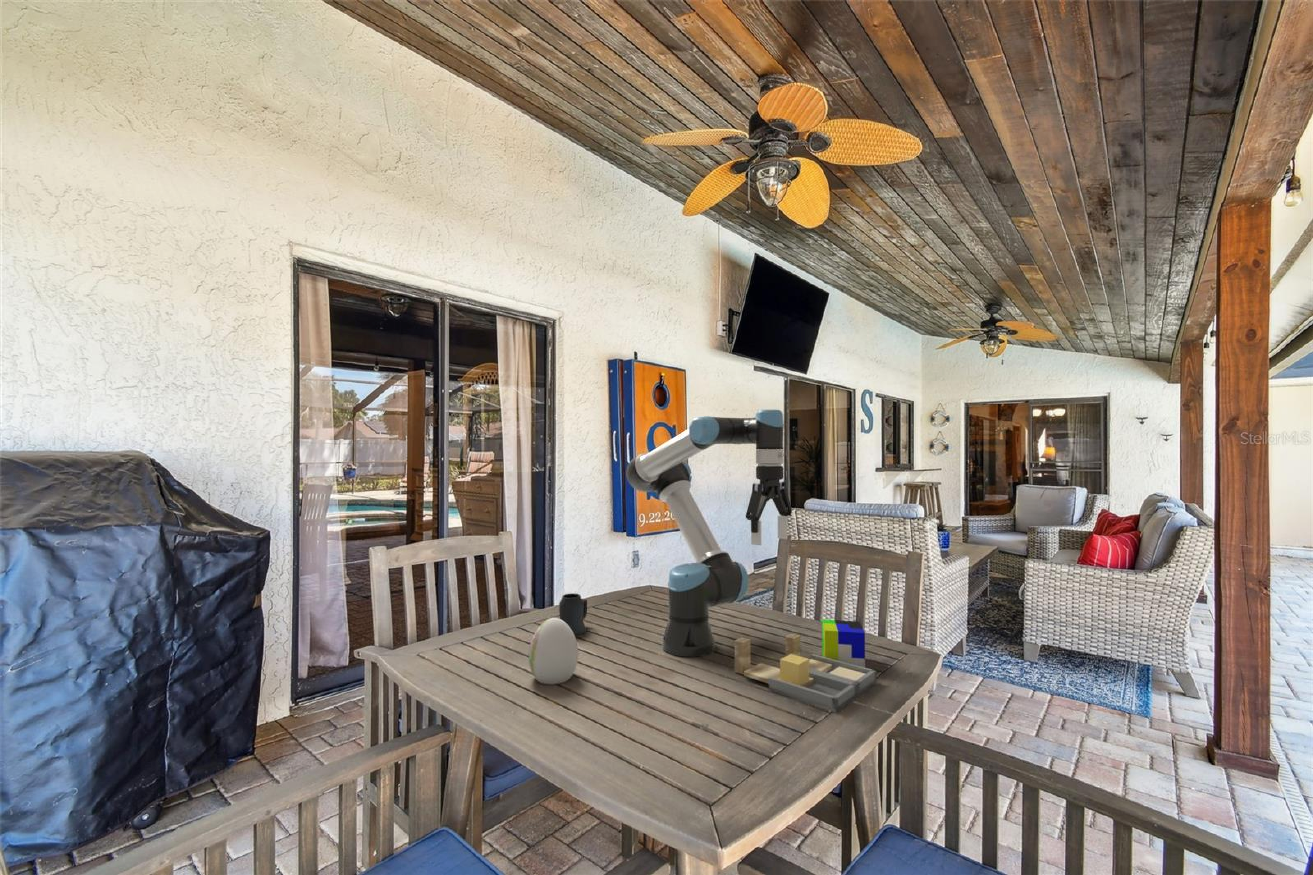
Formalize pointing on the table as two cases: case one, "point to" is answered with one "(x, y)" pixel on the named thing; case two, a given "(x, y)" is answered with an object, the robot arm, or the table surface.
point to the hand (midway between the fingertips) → (769, 541)
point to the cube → (794, 669)
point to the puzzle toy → (843, 641)
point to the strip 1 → (758, 671)
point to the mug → (573, 612)
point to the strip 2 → (795, 648)
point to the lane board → (828, 685)
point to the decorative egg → (553, 652)
